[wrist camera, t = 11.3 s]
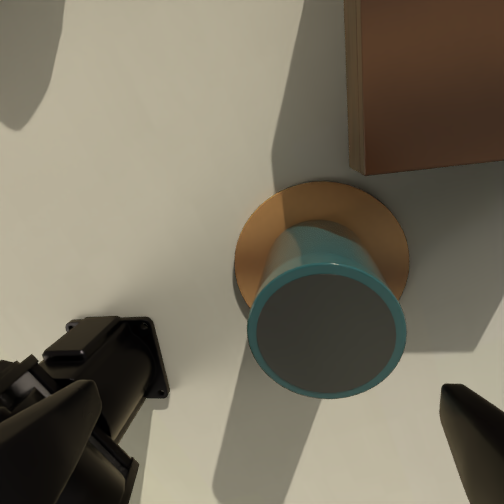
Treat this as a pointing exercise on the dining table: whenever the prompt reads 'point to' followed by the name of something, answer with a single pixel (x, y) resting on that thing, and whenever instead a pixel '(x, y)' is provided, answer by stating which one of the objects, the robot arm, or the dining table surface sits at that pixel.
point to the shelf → (424, 83)
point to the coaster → (322, 208)
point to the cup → (324, 314)
